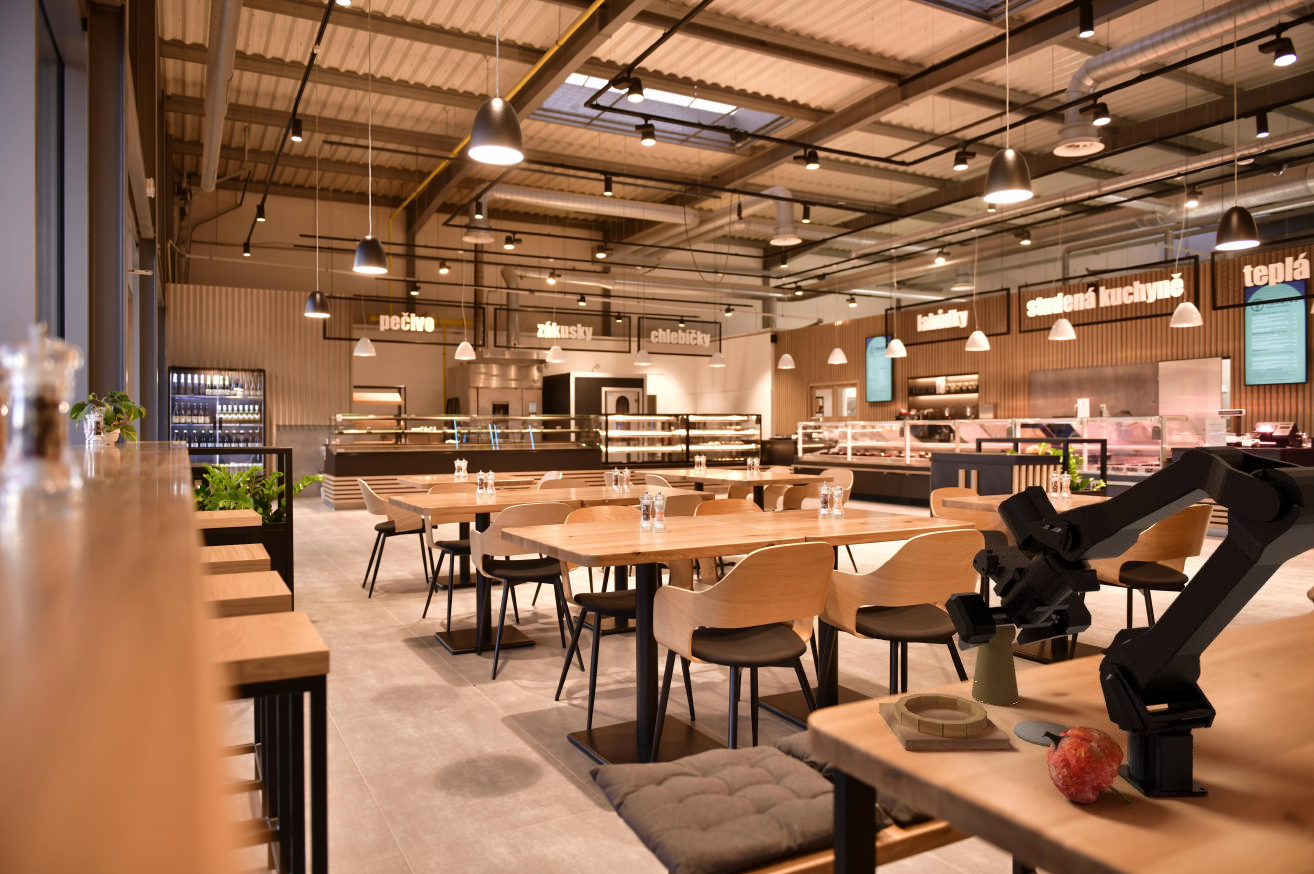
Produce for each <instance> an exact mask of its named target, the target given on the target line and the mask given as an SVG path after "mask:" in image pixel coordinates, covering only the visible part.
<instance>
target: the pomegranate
mask: <svg viewBox="0 0 1314 874" xmlns="http://www.w3.org/2000/svg"><path fill="white" fill-rule="evenodd" d="M1044 736H1046V737H1049V738H1050V739H1051V740H1052V744H1051V746H1049V747H1048V750H1047V754H1046V764H1047V768H1048V774H1049V776H1050V779H1051V782H1052V784H1054V786H1055V788H1056V789H1057V790H1058V791H1059V792H1060V793H1061V794H1062V795H1063V796H1064V797H1066V798H1067V799H1070V800H1071V801H1073V802H1076V803H1080V804H1081V805H1085V804H1093V803H1094V802H1096V800H1097V799H1098V797H1099V796H1100V791H1107V790H1108V789H1110V790H1111V791H1113V792H1114V793H1115V794H1117V795H1118V796H1120V797H1121V798H1122V799H1124V800H1125V801H1126V802H1127V803H1128V804H1130V805H1131V804H1133V802H1132V801H1131V800H1129V799H1128V798H1127V797H1126V796H1125V795H1124V794H1122V792H1121V791H1119V790H1118V789H1116V788H1115V787H1114V786H1113V784H1114V778H1116V777H1118V775H1119V774H1118V772H1119V769H1120V764H1122V762H1123V759H1124V758H1125V754H1124V751H1123V749H1122V748H1121V746H1120V745H1119V743H1118V742H1117V741H1116V740H1115V739H1114V738H1113V737H1112V736H1111V735H1110V734H1108V733H1106V732H1105V731H1103V730H1099V729H1098V728H1093V727H1087V726H1081V725H1079V726H1076V727H1072V728H1070V730H1066V731H1063V732H1062V733H1061V734H1060V735H1059V736H1057V735H1055V734H1053V733H1050V732H1048V731H1046V732H1045V733H1044V734H1043V735H1042V737H1044Z"/></svg>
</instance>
